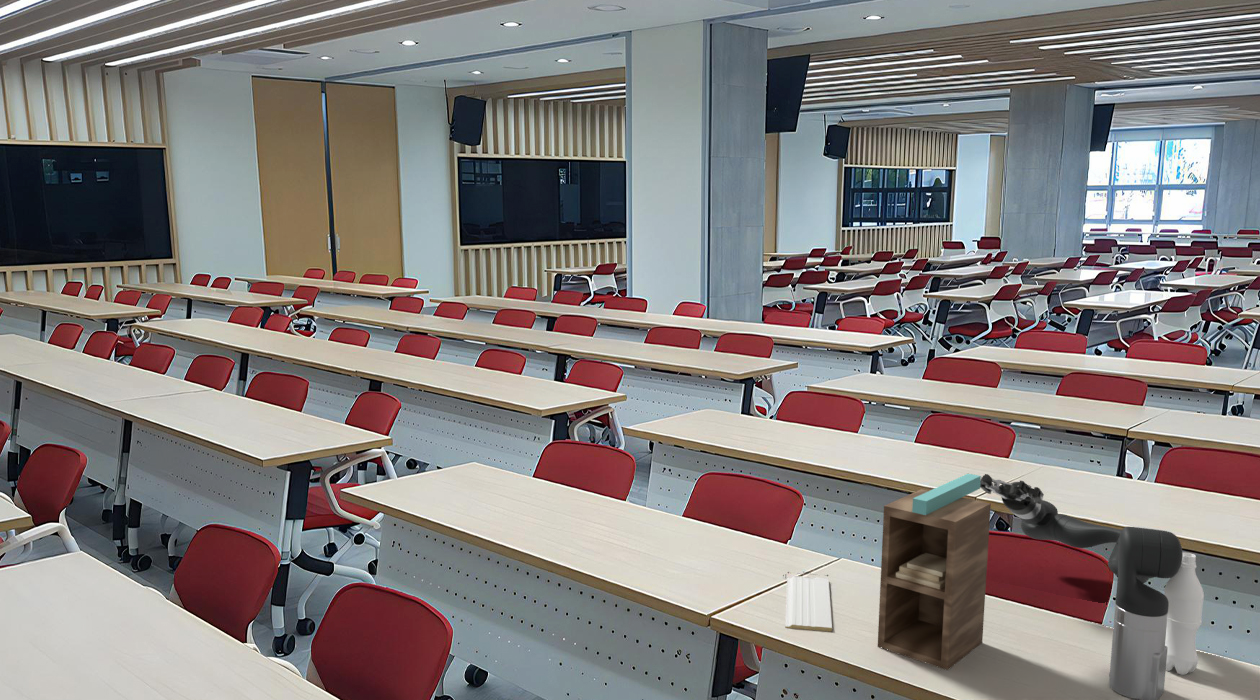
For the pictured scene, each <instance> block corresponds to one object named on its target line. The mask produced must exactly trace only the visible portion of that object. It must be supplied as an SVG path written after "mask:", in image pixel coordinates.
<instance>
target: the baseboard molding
mask: <svg viewBox="0 0 1260 700" xmlns="http://www.w3.org/2000/svg"><path fill="white" fill-rule="evenodd" d="M789 573H790V571H788V572H787V573H786V574H783V575H782V577H784V576H785V577H784V579H785V580H786V596H785V597H786V598H785V599H786V601H785V624H784V625H785V626H784V627H785V628H786V629H796V630H807V631H808V630H810V631H819V632H820V631H822V632H832V631H833V625H832V624H833V623H832V622H833V621H832V610H831V598H830V596H831V594H830V581H829V574H827V575H825V576H827V577H819V576H818V577H816V576H817V574H813V573H812V571H809V575H811V576H812V575H815V576H813V577H810V576H802V575H803V574H808V571H803V572H802V573H798V574H800V575H801V574H802V575H801V576H797V575H792V576H791V577H787V574H789Z"/></svg>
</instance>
